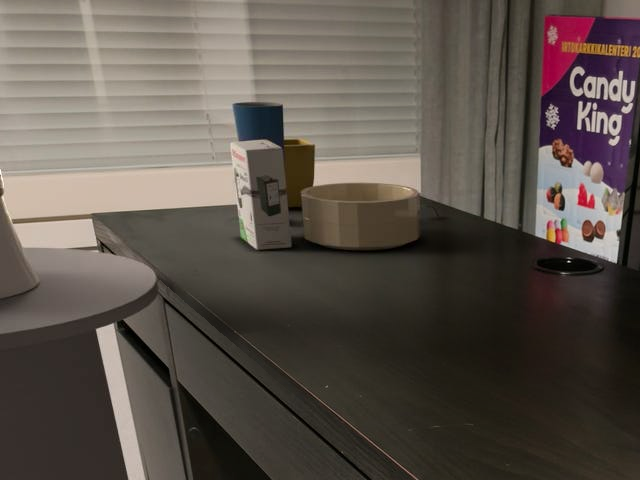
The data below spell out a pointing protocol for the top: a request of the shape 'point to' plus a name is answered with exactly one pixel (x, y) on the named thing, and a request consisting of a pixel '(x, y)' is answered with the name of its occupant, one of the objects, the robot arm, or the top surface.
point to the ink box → (261, 194)
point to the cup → (260, 122)
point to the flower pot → (298, 168)
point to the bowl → (360, 215)
